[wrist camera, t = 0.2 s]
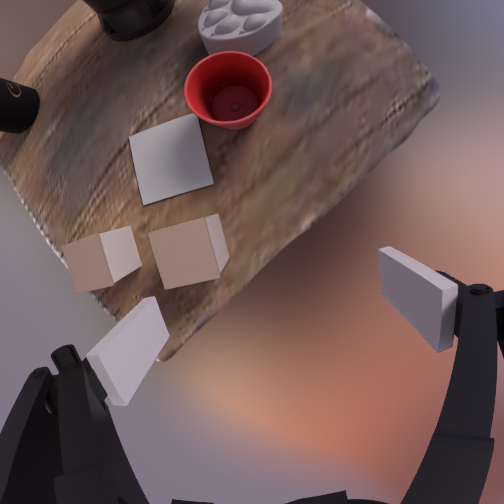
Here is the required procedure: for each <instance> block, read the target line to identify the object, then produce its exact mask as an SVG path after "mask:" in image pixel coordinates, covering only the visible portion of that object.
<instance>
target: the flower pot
mask: <svg viewBox="0 0 504 504" xmlns="http://www.w3.org/2000/svg"><path fill="white" fill-rule="evenodd" d="M271 93H272V81H271V77H270V74H269V72H268V71H267V69H266V67H265V66H264V65H263V64H262V63H261V62H260V61H259V60H257V59H256V58H254V57H253V56H251V55H249V54H246V53H242V52H237V51H225V52H219V53H215V54H212V55H210V56H208V57H206V58H204V59H202V60H201V61H200V62H198V63H197V64H196V65H195V66H194V67H193V68H192V69H191V71H190V72H189V74H188V76H187V78H186V81H185V84H184V98H185V101H186V104H187V105H188V107H189V109H190V110H191V111H192V112H193V113H194V114H195V115H196V116H197V117H199V118H200V119H202V120H204V121H206V122H208V123H210V124H213V125H216V126H218V127H222V128H225V129H229V130H239V129H243V128H246V127H248V126H249V125H251V124H252V123H253V122H254V121H255V120H256V119H257V118H258V117H259V115H260V114H261V113H262V111H263V110H264V108H265V107H266V105H267V103H268V102H269V99H270V97H271Z"/></svg>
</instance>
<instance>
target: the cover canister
mask: <svg viewBox="0 0 504 504" xmlns="http://www.w3.org/2000/svg"><path fill="white" fill-rule="evenodd" d="M62 249H63V253H64V256H65V260H66V263H67V266H68V270H69V272H70V276H71V279H72V282H73V285H74V288H75V290H76V293H77V294H79V293H83V292H88V291H92V290H96V289H101V288H105V287H109V286H113V285H115V284H114V283H115V282H116V281H118V280H119V279H121V278H123V277H124V276H126V275H128V274H129V273H131V272H132V271H134V270H136V269H137V268H139V267H141V266H142V264H141V261H140V257H139V254H138V251H137V247H136V244H135V240H134V237H133V233H132V229H131V226H127V227H123V228H120V229H116V230H112V231H109V232H105V233H101V234H99V233H96V234H93V235H90V236H87V237H85V238H82V239H79V240H77V241H74V242H71V243H69V244H66V245H64V246H62Z"/></svg>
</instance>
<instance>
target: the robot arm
mask: <svg viewBox="0 0 504 504" xmlns="http://www.w3.org/2000/svg"><path fill="white" fill-rule="evenodd" d="M83 1H84V2H85V3H86V4H88V5H89V6H90V7H91V8H92V9H93V10H94V11H95V12H96V13H97V15H98V18H99V21H100V24H101V27H102V29H103V31H104V32H105V33H106V34H107V35H108V36H109V37H110V38H112V39H114V40H118V41H126V40H131V39H135V38H138V37H140V36H143V35H145V34H147V33H148V32H150V31H152V30H153V29H155V28H156V27H157V26H159V25H160V24H161V23H162V22H163V21H164V20H165V19H166V18H167V17H168V16H169V14H170V13H171V11H172V9H173V7H174V3H175V0H83ZM378 253H379V263H380V273H381V286H382V294H383V295H384V296H385V297H386V299H388V301H389V302H391V303H392V305H393V306H394V307H395V308H396V309H397V310H398V311H399V312H400V313H401V314H402V315H403V316H404V317H405V318H406V319H407V320H408V321H409V322H410V323H411V325H412V326H413V327H414V328H415V329H416V330H417V331H418V332H419V333H420V334H421V335H422V336H423V337H424V339H425V340H426V341H427V342H428V343H429V344H430V345H431V346H432V347H433V348H434V350H435V351H436V352H437V353H439V352H442V351H444V350H447V349H449V348H451V347H452V345H453V338H454V334H455V335H456V336H457V337H458V338H459V339H458V346H457V351H456V356H455V361H454V366H453V370H452V375H451V379H450V383H449V387H448V390H447V394H446V398H445V401H444V404H443V408H442V411H441V414H440V417H439V420H438V423H437V426H436V429H435V431H434V433H433V436H432V439H431V441H430V444H429V446H428V449H427V451H426V453H425V456H424V458H423V460H422V462H421V465H420V467H419V469H418V471H417V473H416V475H415V477H414V479H413V481H412V483H411V485H410V488H409V489H408V491H407V493H406V495H405V497H404V498H403V500H402V502H401V503H400V504H478V503H479V500H480V497H481V494H482V491H483V488H484V485H485V481H486V478H487V474H488V470H489V467H490V463H491V458H492V454H493V449H494V438H490V432H491V426H492V420H493V413H494V405H495V395H496V382H497V341H498V343H499V346H500V349H501V352H502V355H503V358H504V290H502V291H497V292H493V289H492V288H491V287H490V286H488V285H485V284H472V285H469V286H467V285H465V284H464V283H462V282H460V281H459V280H456V279H455V278H453V277H451V276H450V275H448V274H446V273H445V272H441V271H436V270H435V271H434V270H432V269H430V268H428V267H427V266H425V265H423V264H421V263H420V262H418V261H416V260H414V259H412V258H411V257H409V256H407V255H405V254H403V253H401V252H399V251H398V250H396V249H394V248H392V247H390V246H389V247H385V248H381V249H378ZM168 338H169V333H168V331H167V328H166V326H165V323H164V320H163V318H162V315H161V312H160V309H159V307H158V304H157V301H156V298H155V296H153V297H148V298H144V299H143V300H142V301H141V302H140V303H139V304H137V305H136V306H135V307H134V308H133V309H132V310H131V311H130V312H129V313H128V314H127V315H126V316H125V317H124V318H123V319H122V320H121V321H120V322H119V323H118V324H117V325H116V326H115V327H114V328H113V329H112V330H111V331H110V332H109V333H108V334H107V335H106V336H105V337H104V338H103V339H102V340H101V341H100V342H99V343H98V344H97V345H96V346H95V347H94V348H93V349H92V350H91V351H90V352H89V353H88V354H87V355H86V358H85V359H84V360H83V361H81V359H80V357H79V355H78V353H77V351H76V349H75V347H74V345H71V344H70V345H65V346H62V347H60V348H58V349H56V350H55V351H54V352H53V353H52V354H51V358H52V360H53V362H54V364H55V365H56V367H57V369H58V371H59V374H58V375H52V374H51V372H50V370H49V368H48V367H41V368H37V369H35V370H34V371H33V372H32V373H31V374H30V375H29V377H28V379H27V380H26V382H25V384H24V386H23V388H22V390H21V392H20V393H19V395H18V398H17V399H16V401H15V403H14V405H13V407H12V409H11V412H10V414H9V416H8V418H7V420H6V422H5V424H4V427H3V429H2V431H1V433H0V504H149V502H148V500H147V498H146V497H145V495H144V493H143V491H142V489H141V487H140V485H139V483H138V481H137V479H136V477H135V475H134V472H133V470H132V468H131V466H130V464H129V461H128V459H127V457H126V454H125V452H124V450H123V447H122V445H121V442H120V439H119V437H118V434H117V432H116V429H115V426H114V423H113V420H112V417H111V414H110V412H109V408H108V406H107V404H106V403H105V401H104V400H105V398H106V397H107V395H108V397H109V399H110V400H111V402H112V403H113V405H120V406H127V404H128V402H129V401H130V399H131V398H132V396H133V394H134V393H135V391H136V389H137V388H138V386H139V385H140V383H141V381H142V380H143V378H144V376H145V375H146V373H147V371H148V370H149V368H150V367H151V365H152V363H153V362H154V360H155V359H156V357H157V355H158V354H159V352H160V351H161V349H162V347H163V346H164V344H165V343H166V341H167V340H168ZM47 409H48V410H47ZM48 411H49V412H50V413H49V412H48ZM171 504H213V503H207V502H193V501H183V500H174V499H172V503H171ZM286 504H387V503H384V502H379V501H374V500H365V499H347V495H346V490H345V491H340V492H336V493H331V494H327V495H321V496H315V497H309V498H302V499H298V500H296V501H292V502H289V503H286Z"/></svg>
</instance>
